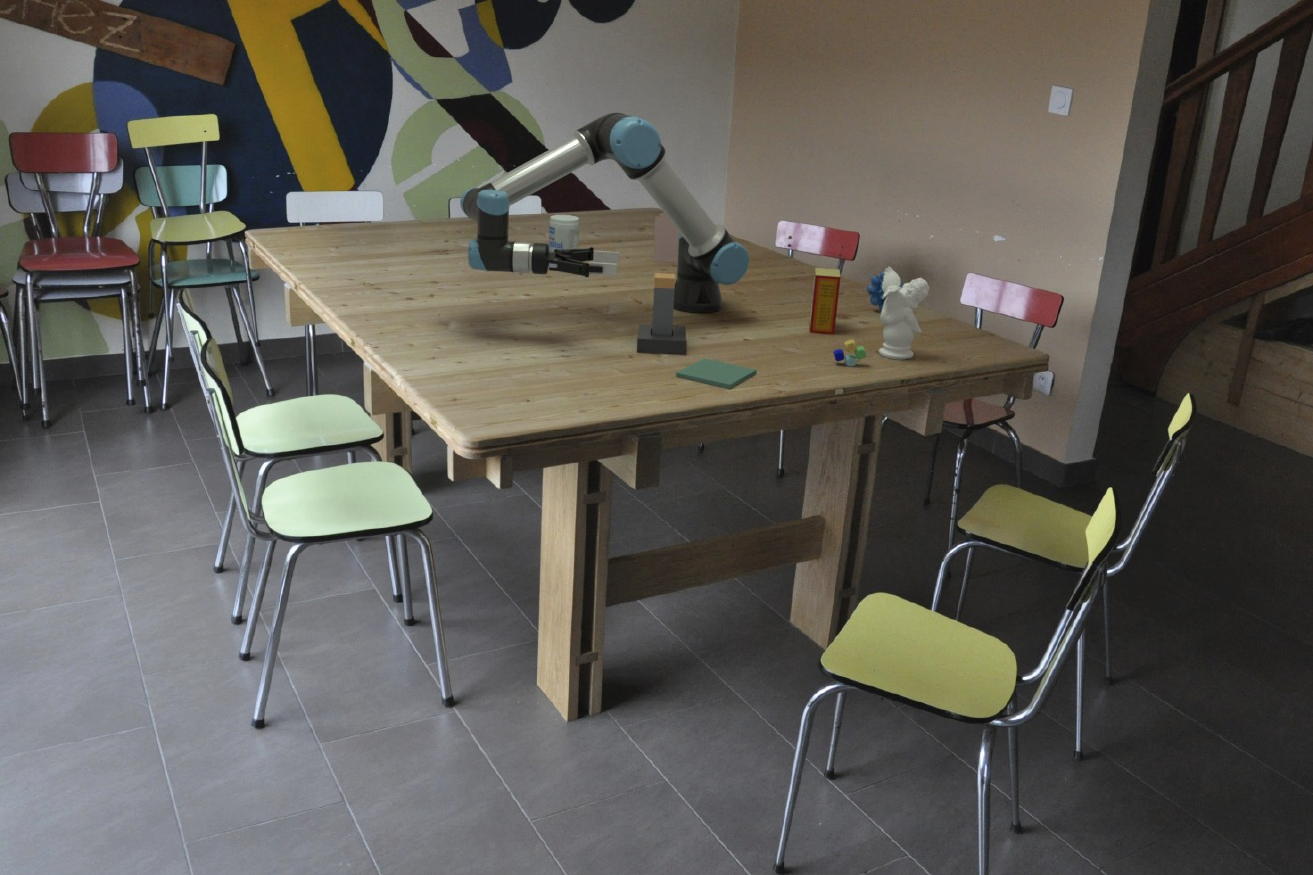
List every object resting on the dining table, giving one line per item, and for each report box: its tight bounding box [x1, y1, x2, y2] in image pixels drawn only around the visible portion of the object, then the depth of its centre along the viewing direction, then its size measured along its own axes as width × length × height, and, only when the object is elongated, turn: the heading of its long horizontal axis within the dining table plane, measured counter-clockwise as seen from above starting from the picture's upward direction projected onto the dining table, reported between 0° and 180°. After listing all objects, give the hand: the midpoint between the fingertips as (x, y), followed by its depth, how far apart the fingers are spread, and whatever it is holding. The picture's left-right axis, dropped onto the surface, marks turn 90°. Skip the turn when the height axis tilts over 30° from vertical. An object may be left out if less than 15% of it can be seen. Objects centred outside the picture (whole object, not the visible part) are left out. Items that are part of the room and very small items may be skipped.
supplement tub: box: [548, 214, 580, 253], centre depth 359 cm, size 10×10×15 cm
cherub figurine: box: [878, 265, 930, 360], centre depth 278 cm, size 12×12×22 cm
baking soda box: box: [808, 267, 841, 335], centre depth 299 cm, size 10×6×16 cm
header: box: [636, 323, 687, 355], centre depth 279 cm, size 13×12×4 cm
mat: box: [675, 357, 757, 390], centre depth 260 cm, size 14×14×1 cm
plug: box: [651, 272, 676, 336], centre depth 277 cm, size 5×5×18 cm
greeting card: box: [652, 212, 680, 263], centre depth 368 cm, size 11×7×15 cm, turn 59°
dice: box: [833, 339, 867, 367], centre depth 272 cm, size 8×3×6 cm, turn 89°
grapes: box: [866, 270, 905, 312], centre depth 319 cm, size 12×7×12 cm, turn 89°
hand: (618, 263), depth 274 cm, fingers open, 13 cm apart
